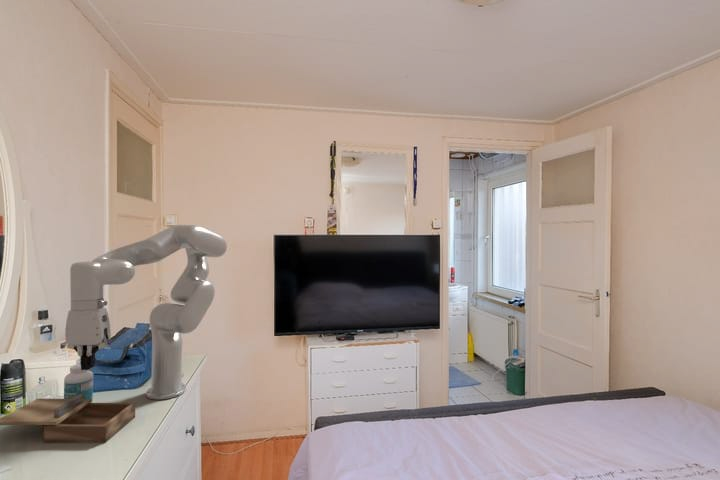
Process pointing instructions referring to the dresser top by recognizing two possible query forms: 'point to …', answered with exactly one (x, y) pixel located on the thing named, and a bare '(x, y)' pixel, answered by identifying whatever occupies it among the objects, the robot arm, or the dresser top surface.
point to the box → (91, 424)
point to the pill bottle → (78, 383)
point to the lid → (45, 411)
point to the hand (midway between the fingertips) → (87, 368)
